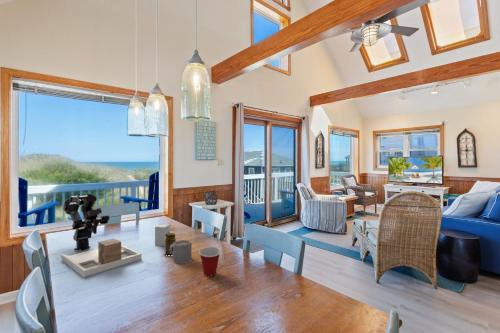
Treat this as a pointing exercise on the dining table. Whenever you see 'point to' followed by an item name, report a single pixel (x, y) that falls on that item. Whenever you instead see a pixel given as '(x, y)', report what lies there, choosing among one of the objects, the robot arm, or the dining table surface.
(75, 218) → the robot arm
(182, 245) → the coffee mug
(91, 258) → the white recessed tray
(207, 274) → the plastic cup
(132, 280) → the dining table surface
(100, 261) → the walnut block
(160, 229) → the supplement box
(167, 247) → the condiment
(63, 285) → the dining table surface
